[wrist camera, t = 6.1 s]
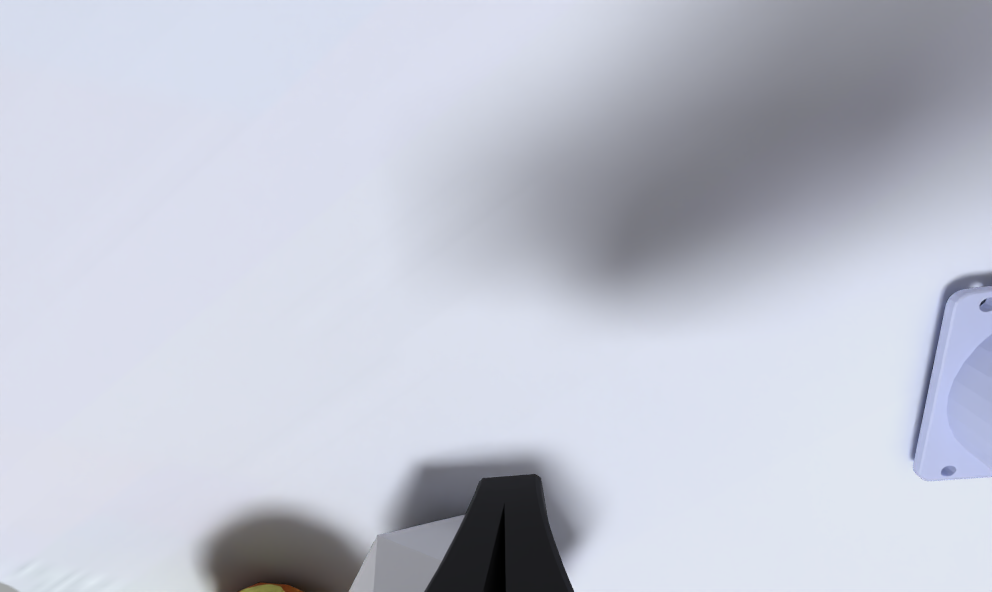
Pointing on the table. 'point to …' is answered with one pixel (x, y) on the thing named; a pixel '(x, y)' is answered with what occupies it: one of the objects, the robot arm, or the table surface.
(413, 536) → the die
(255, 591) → the cheeseburger
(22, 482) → the table surface
